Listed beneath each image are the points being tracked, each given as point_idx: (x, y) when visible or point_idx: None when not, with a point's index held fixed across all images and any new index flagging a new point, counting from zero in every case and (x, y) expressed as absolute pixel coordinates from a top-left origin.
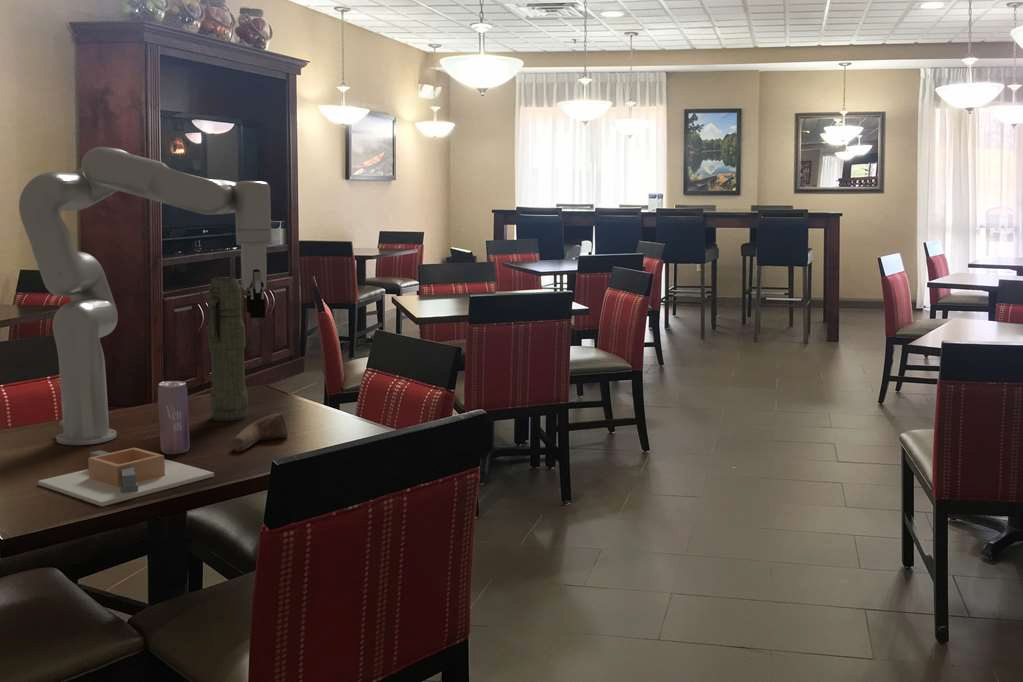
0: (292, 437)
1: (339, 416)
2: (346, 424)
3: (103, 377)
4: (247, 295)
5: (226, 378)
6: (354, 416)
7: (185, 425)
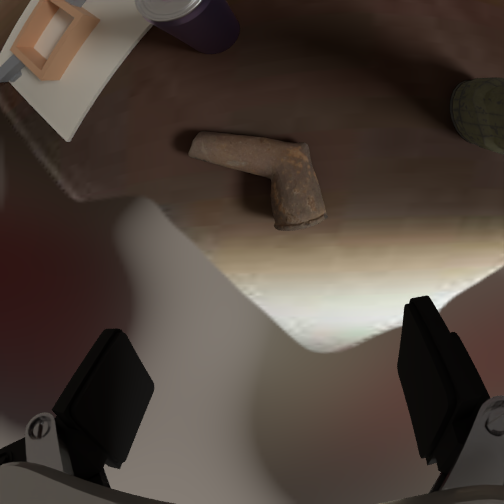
0: None
1: None
2: (370, 308)
3: None
4: (459, 404)
5: (501, 111)
6: None
7: (186, 43)
